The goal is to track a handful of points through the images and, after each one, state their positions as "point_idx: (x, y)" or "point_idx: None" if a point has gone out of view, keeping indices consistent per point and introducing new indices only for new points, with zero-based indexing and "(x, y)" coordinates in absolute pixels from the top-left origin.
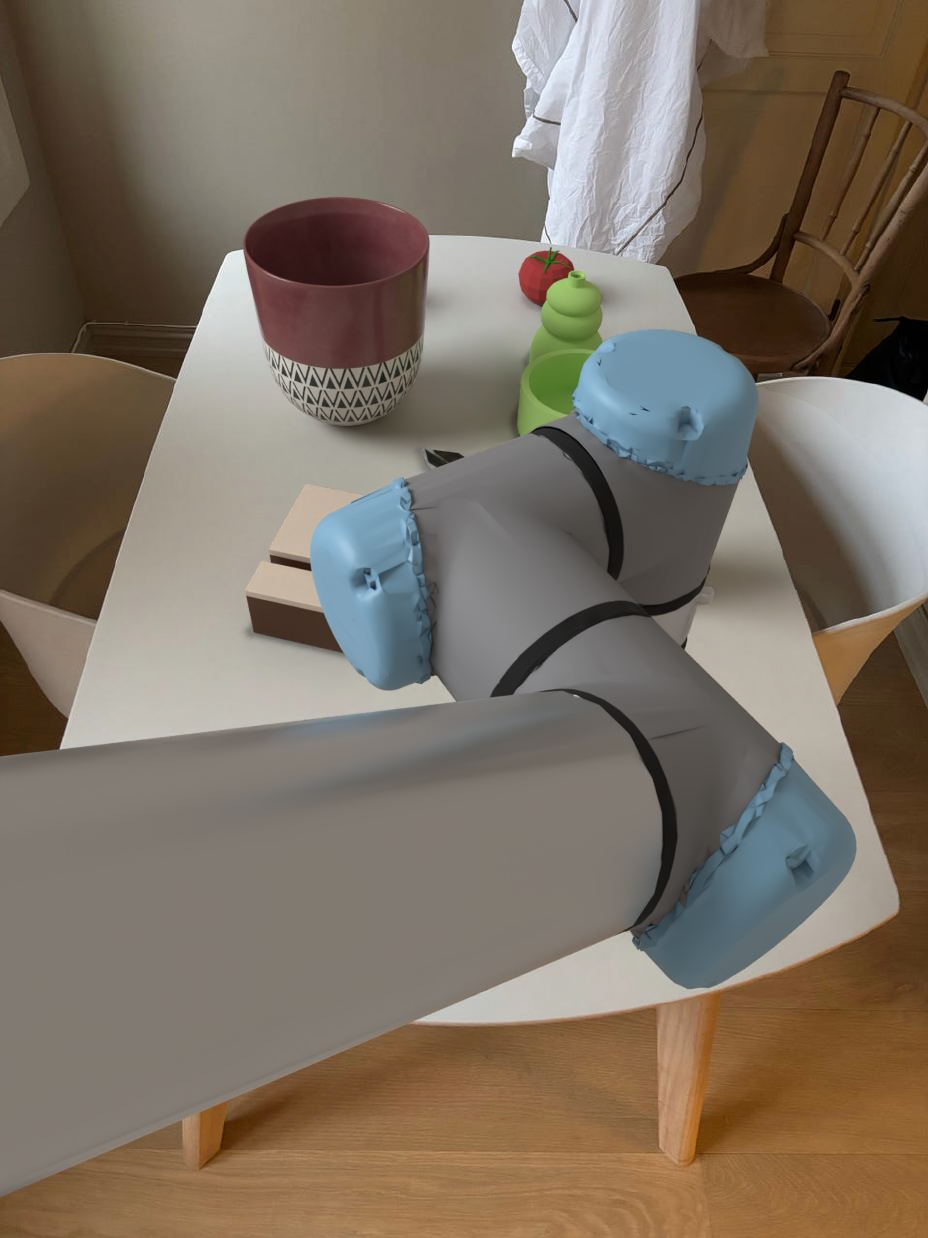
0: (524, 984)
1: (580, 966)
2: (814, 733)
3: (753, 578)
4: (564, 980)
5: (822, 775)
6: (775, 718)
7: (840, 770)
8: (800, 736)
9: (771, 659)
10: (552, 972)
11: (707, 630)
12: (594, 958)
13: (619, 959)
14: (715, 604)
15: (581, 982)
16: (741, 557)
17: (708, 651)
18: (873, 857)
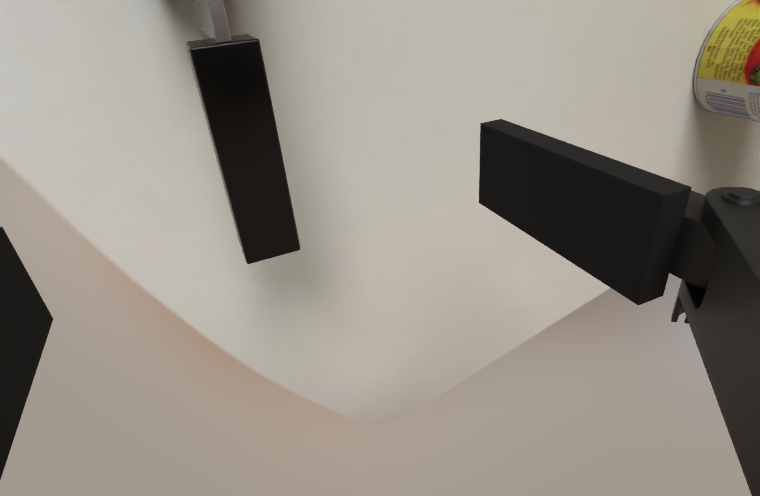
0: (42, 137)
1: (133, 203)
2: (546, 312)
3: None
4: (95, 191)
5: (502, 335)
6: (558, 274)
7: (510, 346)
8: (541, 302)
9: None
10: (95, 170)
11: (660, 168)
12: (159, 216)
13: (178, 246)
14: (693, 164)
15: (109, 214)
16: (749, 169)
17: None
18: (428, 401)
